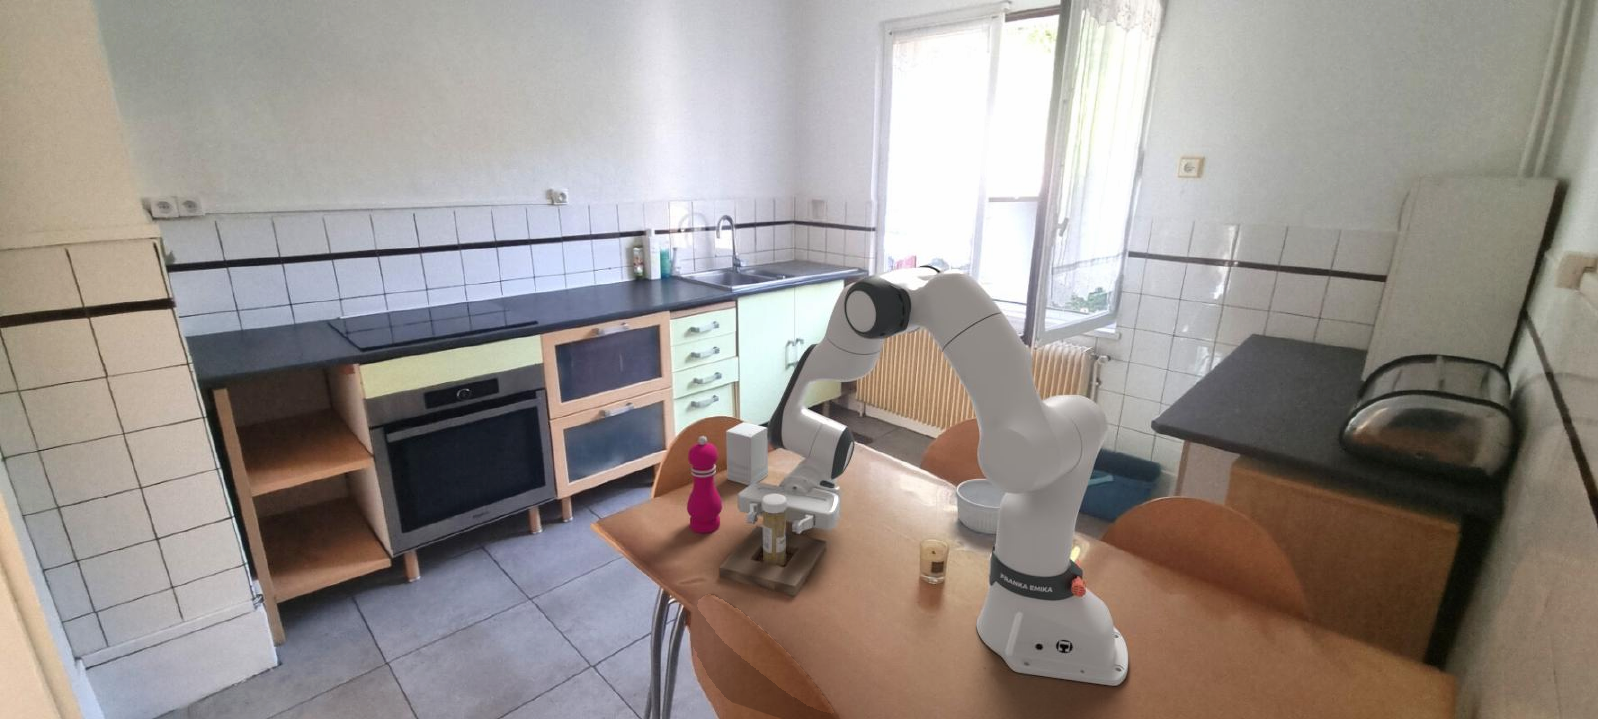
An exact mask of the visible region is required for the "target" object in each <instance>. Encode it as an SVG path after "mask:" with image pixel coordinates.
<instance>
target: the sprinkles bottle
mask: <svg viewBox="0 0 1598 719" xmlns="http://www.w3.org/2000/svg"><path fill="white" fill-rule="evenodd" d="M786 508H787V500H786V497H785V496H783V495H780V494H769V495H766V496H764V497H763V499H762V509H763V516H762V527H763V554H762V556H763V558H762V562H763V563H767V564H772V565H776V566H780V567H784V566H786V565H785V564H786V563H787V559H786V558H787V557H786V556H787V555H786V532H787V525H786V523H787V522H786V517H785V516H786Z"/></svg>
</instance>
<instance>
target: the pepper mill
mask: <svg viewBox="0 0 1598 719" xmlns="http://www.w3.org/2000/svg"><path fill="white" fill-rule="evenodd" d="M697 440H698V442H697V443H695V444H693V445H692V446H691V447H690V448H689V451H688V453H687V456H688V457H687V459H688V462H689V464H691V466H690V469H691V471H690V473H691V475H692V476H693V486H692V490H691V493H690V495H689V497H688V499H687V503H686V512H687V514H688V515H689V516H690V518H689V528H690V529H691V530H692V531H694V532H695V533H700V534H708V533H713V532H716V531H717V530H718V529H719V528H720V526H721V516H720V515H721V512H722V510H723V501H722V499H721V498H722V497H721V495H720V494H719V492H718V490H717V487H716V484H715V479H714V477H715V474H716V472H717V470H716V468H717V466H716V463H717V461H718V459H719V458H718V457H719V453H718V450H717V447H716V446H715V445H714V444H713V443H710V442H708V439H707V437H706V436H705V435H702V436H699V437H698V439H697Z"/></svg>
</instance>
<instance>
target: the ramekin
mask: <svg viewBox="0 0 1598 719" xmlns="http://www.w3.org/2000/svg"><path fill="white" fill-rule="evenodd" d="M1005 494H1006V492H1004V491H1002V490H1000V489H998V488H996V487H995V486H993V485H992V484H991V483H990V482H989V481H988V480H987V478H976V479H975V478H974V479H969V480H965V481H963V482H961V483H959V484H958V485H957V486H956V489H955V498H956V505H957V506H956V507H957V515H958V519H959V520H960V522H961V523H962V524H963V525H964V526H965V527H966V528H968V529H969V530H972V531H973V532H977V533H981V534H987V535H996V534H997V524H998V514H999V507H1000V503H1001V501H1002V499H1003V497H1004V495H1005Z"/></svg>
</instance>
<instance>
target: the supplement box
mask: <svg viewBox="0 0 1598 719" xmlns="http://www.w3.org/2000/svg"><path fill="white" fill-rule="evenodd" d="M767 427H768V426H767ZM767 427H766V426H762V425H757V424H753V423H749V422H745V421H743V422H741V423H739V424H737V425H735V426H733V427H731V428H729V429H727V430H726V431H725V443H726V444H725V446H726V448H725V449H726V450H725V451H726V477H727V480H729V481H731V482H736V483H740V484H741V485H742V484H743V485H746V486H747V487H748V486H750V485H752V484H754V483H760V481H762V480H763V479H764V478H766V477H767V476H768V475H769V471H768V470H769V468H768V467H769V466H768V465H769V464H768V461H769V460H768V454H769V452H768V432H767Z"/></svg>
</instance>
